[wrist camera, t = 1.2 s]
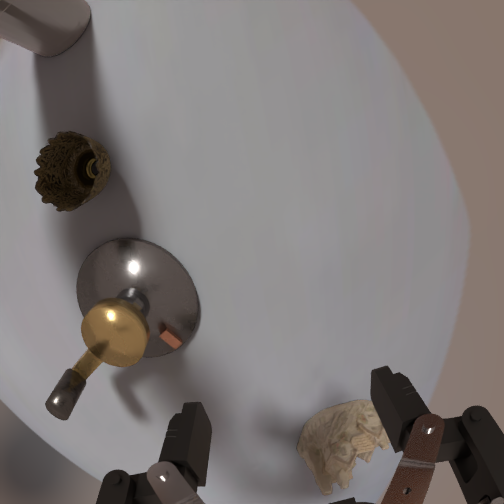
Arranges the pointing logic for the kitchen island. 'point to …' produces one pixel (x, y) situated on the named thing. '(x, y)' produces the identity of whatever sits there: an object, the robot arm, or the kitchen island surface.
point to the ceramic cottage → (340, 441)
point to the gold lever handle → (101, 349)
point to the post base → (142, 289)
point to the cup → (71, 170)
